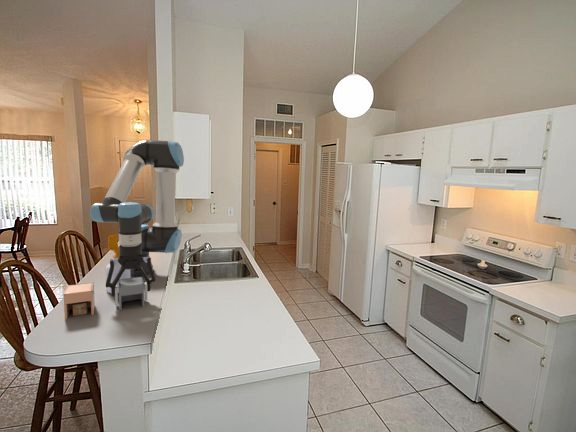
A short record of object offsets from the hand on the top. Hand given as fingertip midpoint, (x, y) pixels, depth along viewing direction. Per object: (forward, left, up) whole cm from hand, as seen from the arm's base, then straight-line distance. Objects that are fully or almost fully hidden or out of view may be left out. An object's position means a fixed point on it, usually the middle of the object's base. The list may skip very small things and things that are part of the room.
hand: (131, 301), depth 117 cm
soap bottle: (-10, -14, -1) cm, 17 cm away
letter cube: (+11, -12, -1) cm, 16 cm away
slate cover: (0, 0, -1) cm, 1 cm away
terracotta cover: (+11, -12, -1) cm, 16 cm away
